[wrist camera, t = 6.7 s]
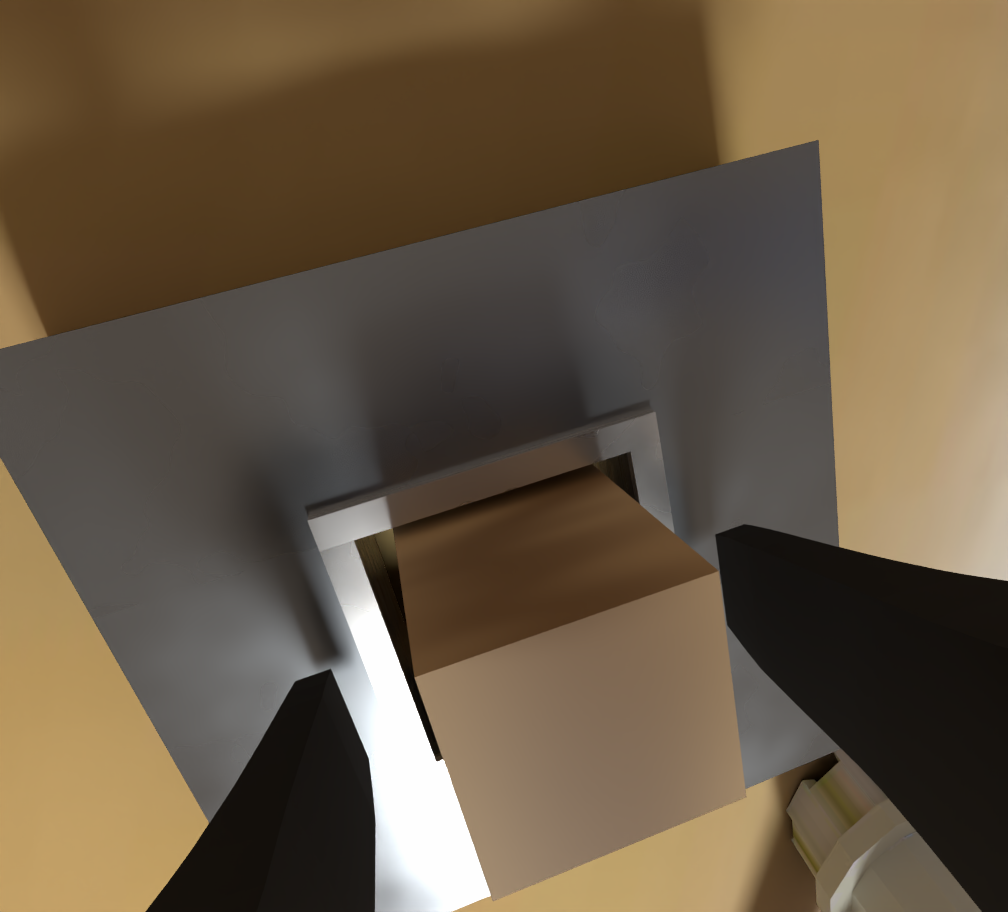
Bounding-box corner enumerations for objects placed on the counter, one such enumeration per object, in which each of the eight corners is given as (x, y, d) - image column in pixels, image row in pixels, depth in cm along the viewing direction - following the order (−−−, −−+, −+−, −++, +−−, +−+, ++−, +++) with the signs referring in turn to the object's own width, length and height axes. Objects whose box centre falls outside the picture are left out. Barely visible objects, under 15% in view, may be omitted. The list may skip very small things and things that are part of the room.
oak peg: (552, 430, 14) (718, 570, 8) (583, 575, 16) (746, 796, 9) (386, 480, 14) (414, 677, 7) (433, 625, 15) (493, 901, 9)
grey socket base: (720, 166, 13) (826, 137, 10) (772, 671, 18) (855, 751, 15) (46, 338, 11) (-63, 364, 8) (306, 853, 16) (295, 986, 13)
